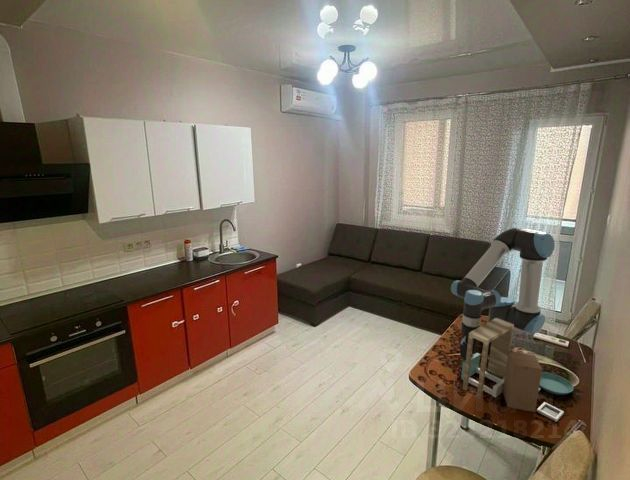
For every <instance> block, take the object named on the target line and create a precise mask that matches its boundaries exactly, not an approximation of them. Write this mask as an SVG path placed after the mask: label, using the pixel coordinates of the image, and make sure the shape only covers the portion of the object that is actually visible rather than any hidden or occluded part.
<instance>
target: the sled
mask: <svg viewBox="0 0 630 480" xmlns="http://www.w3.org/2000/svg"><path fill="white" fill-rule="evenodd" d="M472 356H473V357H472ZM472 356H471V365H470V373H469V382H468V384H470V385H473V386H475V387H477V388H478V383H479V380H478V381H477V380H476V379H474V378H473V377H472V376H473V375H475V374H476V373H477V374H479V375H480V367H479V366H480V361H481V360H480V359H481V353H479V352H475V353H474V354H472ZM465 363H466V360H465V361H463V360H462V365H463V367H462V366H461V377H460V379H461V380H462V381H464V372H465ZM485 378H487V379H489V380H490V381H493V382H494V383H496V384H495V385H493V386H492V388H491V387H489V386H488V385H485V384H484V386H483V392H485V393H487V394H489V395H491V396H492V397H493V398H497V397H498V396H499V395H501V394H502V393H503V386H504V379H505V378H501V377H499V376H497V375H495V374H493V373H490V372H488V371H486V370H485Z"/></svg>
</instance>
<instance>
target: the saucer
mask: <svg viewBox="0 0 630 480" xmlns="http://www.w3.org/2000/svg"><path fill="white" fill-rule="evenodd" d="M539 387H540V388H541V390H544V391H546V392H548V393H550V394H552V395H559V396H560V395H561V396H562V395H563V396H564V395H567V394H570V393H572V392H573V391H574V389H575V388H574V385H573V384H572V383H571V382H570V381H569V380H567V379H566V378H564V377H563V376H560V375H558V374H555V373H552V372H547V371H542V374H541V380H540V386H539Z"/></svg>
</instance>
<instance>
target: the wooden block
mask: <svg viewBox="0 0 630 480" xmlns="http://www.w3.org/2000/svg"><path fill="white" fill-rule="evenodd" d="M542 372H543V368H542V366H541V364H540V363H539V361H538V359H537V357H536V355H534V354H527V353H519V352H513V351H510V352H509V353H508V359H507V366H506V372H505V379H504V386H503V392H502V393H503V397H504V400H505V404H506V406H507V408H510V409H515V410H521V411H527V412H531V413H535V412H536V409H537V407H536V406H537V402H538V401H537V400H538V397H539V396H538V395H539V392H540V391H539V387H540V380H541V374H542ZM538 391H539V392H538Z"/></svg>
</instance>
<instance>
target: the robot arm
mask: <svg viewBox="0 0 630 480" xmlns="http://www.w3.org/2000/svg"><path fill="white" fill-rule="evenodd" d="M554 250H555V240H554V238H553V236H552V235H551V234H550V233H548V232H545V231H541V230H535V229H529V228H523V227H512V228H508V229H506V230H504V231H503V232H501V233H499V234H498V235H497V236H496V237H494V239H493V240H492V241H491V243H490V247H488V249H487V250H486V251H485V252H484V254H483V255H482V256H481V257H480V258H479V259H478V261H477V262H476V263H475V264H474V265H473V266H472V268H471V269H470V270H469V272H468V273H467V274H466V275H465V276H464V277H463V279H461V280H458V279H457V280H453V282H452V284H450V291H451V293H452V294H453V295H455V296H457V297H458V298H462V299H463V311H462V320H461V331H462V333H463V336H462V339H461V340H458V343H459V351H460V357H461V358H462V362H463V361H465V360H466V354H467V346H468V337H469V332H471V331H473V330H475V329H477V328H478V327H480V326H481V320H482V312H483V311H484V310H487V309H488V319H487V322H489V321H491V320H493V319H495V318H498V319H501V320H504V321H507V322H509V323H512V324H514V328H515V329H518V330H520V331H522V332H524V333H527V334H530V335H536V334H537V333H539V332H540V330H541V329H543V326H544V324H545V322H546V316H545V314H543V313H541V311H542V308H541V307H540V305H539V298H540V291H541V290H540V289H541V282H542V281H541V280H542V275H543V274H542V273H543V265H544V264H543V263H544V262H545V261H547V259H548V258H549V257H552V255H553V253H554V252H553V251H554ZM511 251H517V252H519V258H520V259H521V260H522V262H521V271H520V284H519V293H518V302H516V301H515V300H514V298H511V297H506V296H505V297H504V296H501V295H500V293H499V292H498V291H497V290H494V289H488V290H485V289H483V288H481V287H479V286H480V285H481V284H482V282H484V280H485V279H486V277H487V276H488V275H489V274H490V273H491V271H492V270H493V269H494V268H495V267H496V265H497V264H498V263H499V262H500V261H501V259H502V258H503V257H504V256H505V255H508V254H509V253H510V252H511ZM513 341H514V335H513V336H512V342H513ZM477 342H478V340H477V339H475V338H474V339H473V348H472V357H473V355H474V354H475V350H476V346H477ZM462 367H463V364H462V365H461V368H462Z"/></svg>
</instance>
